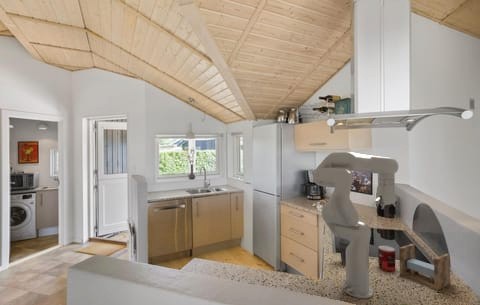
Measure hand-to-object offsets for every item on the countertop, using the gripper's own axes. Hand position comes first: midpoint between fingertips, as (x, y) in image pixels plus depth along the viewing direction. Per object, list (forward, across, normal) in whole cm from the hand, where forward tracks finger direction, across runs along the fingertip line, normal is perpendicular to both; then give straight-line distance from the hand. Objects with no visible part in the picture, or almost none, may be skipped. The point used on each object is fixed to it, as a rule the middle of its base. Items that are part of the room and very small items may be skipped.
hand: (386, 215), depth 127 cm
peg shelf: (+30, -10, +12) cm, 34 cm away
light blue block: (+26, -10, +12) cm, 30 cm away
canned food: (+31, -6, -4) cm, 31 cm away
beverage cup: (+31, +8, -19) cm, 37 cm away
